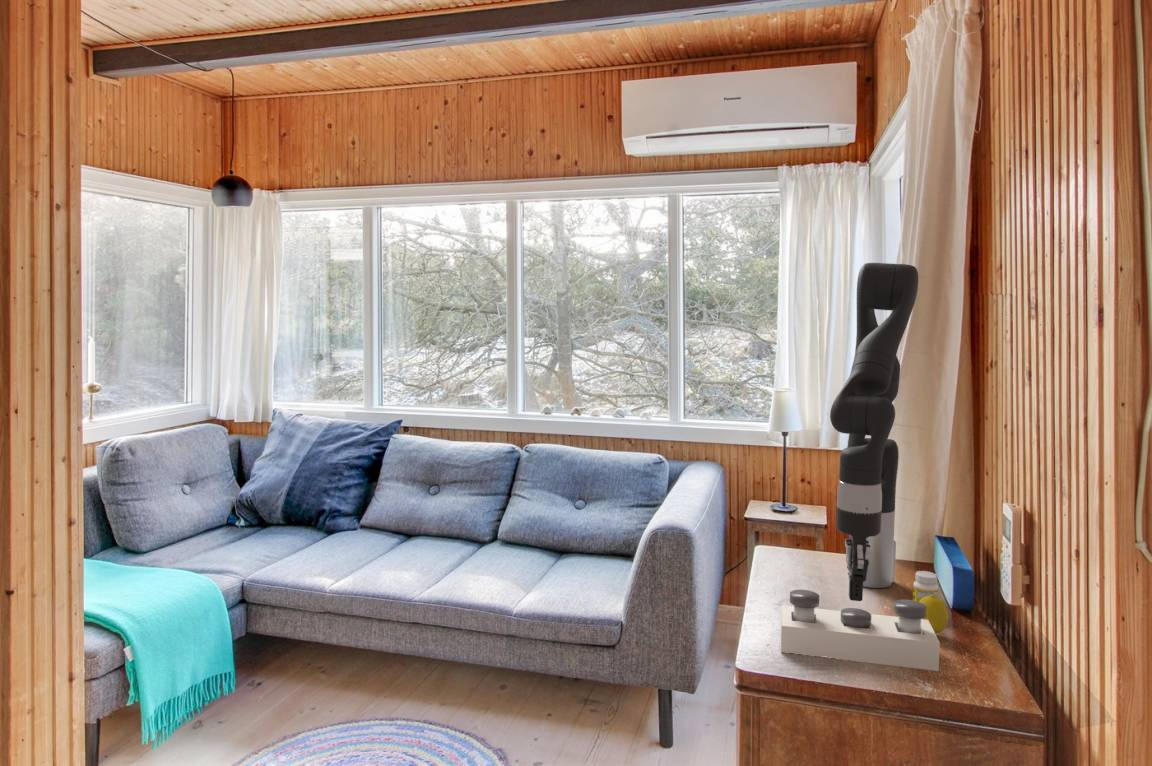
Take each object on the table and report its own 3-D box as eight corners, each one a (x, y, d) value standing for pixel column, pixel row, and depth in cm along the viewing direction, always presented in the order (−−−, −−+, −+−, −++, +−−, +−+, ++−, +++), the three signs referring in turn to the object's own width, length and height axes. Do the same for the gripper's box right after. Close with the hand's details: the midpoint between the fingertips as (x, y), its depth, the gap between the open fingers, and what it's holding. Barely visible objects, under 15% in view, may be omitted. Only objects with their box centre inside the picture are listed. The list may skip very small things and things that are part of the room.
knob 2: (895, 639, 129) (896, 608, 128) (891, 627, 134) (892, 598, 133) (927, 642, 127) (929, 612, 127) (922, 630, 132) (923, 601, 132)
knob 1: (789, 627, 133) (790, 598, 133) (788, 616, 138) (789, 588, 138) (819, 630, 132) (820, 601, 132) (817, 619, 137) (818, 591, 137)
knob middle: (841, 647, 131) (842, 617, 131) (838, 635, 136) (839, 606, 136) (872, 650, 130) (873, 620, 129) (868, 638, 135) (869, 609, 134)
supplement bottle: (915, 607, 153) (917, 568, 152) (940, 613, 150) (942, 573, 149) (909, 614, 149) (910, 574, 148) (934, 620, 146) (936, 579, 145)
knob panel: (780, 652, 132) (781, 625, 131) (780, 630, 141) (781, 605, 141) (938, 671, 125) (939, 642, 125) (926, 646, 135) (928, 619, 134)
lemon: (929, 643, 136) (931, 601, 135) (908, 631, 141) (910, 590, 140) (954, 640, 137) (956, 598, 137) (932, 628, 143) (934, 588, 142)
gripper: (886, 517, 124) (882, 616, 125) (876, 498, 136) (873, 588, 138) (839, 514, 126) (836, 611, 127) (834, 495, 138) (831, 584, 140)
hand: (855, 599), depth 133 cm, fingers closed
